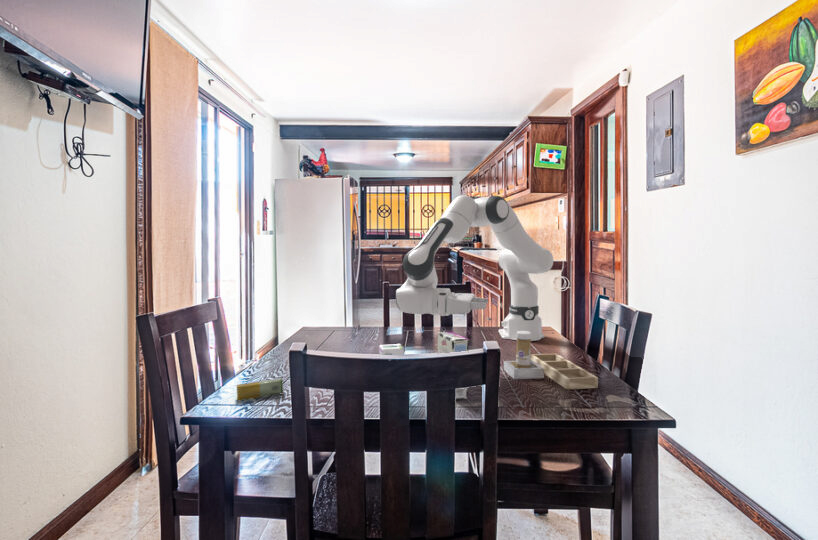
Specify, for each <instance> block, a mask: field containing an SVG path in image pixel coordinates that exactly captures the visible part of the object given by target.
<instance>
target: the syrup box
mask: <svg viewBox="0 0 818 540" xmlns="http://www.w3.org/2000/svg"><path fill="white" fill-rule="evenodd" d="M404 351H405V350H404V347H403V345H402V344H401V343H396V344H395V343H393V344H391V343H390V344H380V345H379V349H378V352H379V355H405V354H404Z"/></svg>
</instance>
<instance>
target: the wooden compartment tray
mask: <svg viewBox="0 0 818 540" xmlns="http://www.w3.org/2000/svg"><path fill="white" fill-rule="evenodd" d="M530 360H533V361H534V362H536V363H537V364H538V365H540V366H541V367H543V368H544V375H545V376H547V377H549V378H550V379H551V380H553V381H554V382H555V383H557V384H558V385H559V386H561V387H563V388H564V389H566V390H583V389H598V388H599V377H598V376H596V375H594V374H593V373H591V372H589V371H588V370H587V369H586V370H585V369H584V368H582V367H580V366H579V365H577V364H575V363H574V362H572V361H571V360H568V359H567V358H565V357H563V356H561V355H560V354H558V353H535V354H531V359H530Z"/></svg>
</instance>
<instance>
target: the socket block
mask: <svg viewBox="0 0 818 540" xmlns="http://www.w3.org/2000/svg"><path fill="white" fill-rule="evenodd" d="M504 370H505V371H506V372H505V371H504ZM503 371H504V372H505V373H506V374H507V375H509V376H510V377H511V378H512V379H513V380H528V379H545V374H544V368H543V367H541V366H540V365H538V364H537V363H536V362H534V361H533V360H530V368H516V360H503Z"/></svg>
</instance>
